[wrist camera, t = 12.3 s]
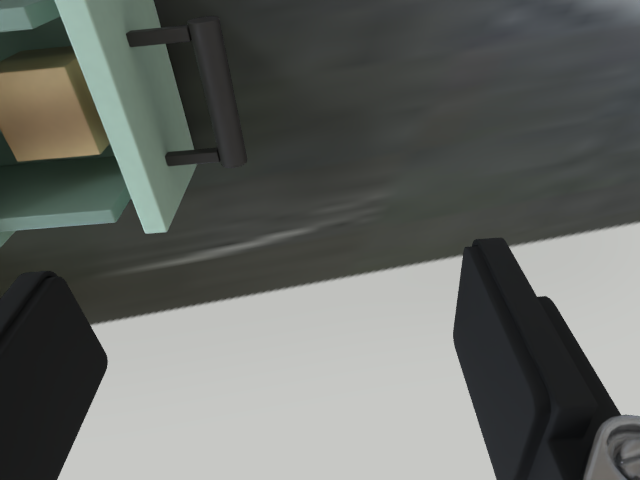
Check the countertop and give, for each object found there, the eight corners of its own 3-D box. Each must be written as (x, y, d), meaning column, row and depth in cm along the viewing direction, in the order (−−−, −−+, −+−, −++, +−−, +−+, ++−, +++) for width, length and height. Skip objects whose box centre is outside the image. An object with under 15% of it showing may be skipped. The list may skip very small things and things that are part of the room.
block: (20, 50, 24) (-30, 75, 21) (100, 42, 24) (64, 66, 21) (55, 128, 27) (17, 162, 23) (128, 121, 27) (100, 155, 23)
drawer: (225, -50, 23) (191, -33, 16) (262, 157, 29) (248, 226, 23) (-114, -15, 23) (-271, 15, 17) (-2, 180, 30) (-85, 252, 24)
